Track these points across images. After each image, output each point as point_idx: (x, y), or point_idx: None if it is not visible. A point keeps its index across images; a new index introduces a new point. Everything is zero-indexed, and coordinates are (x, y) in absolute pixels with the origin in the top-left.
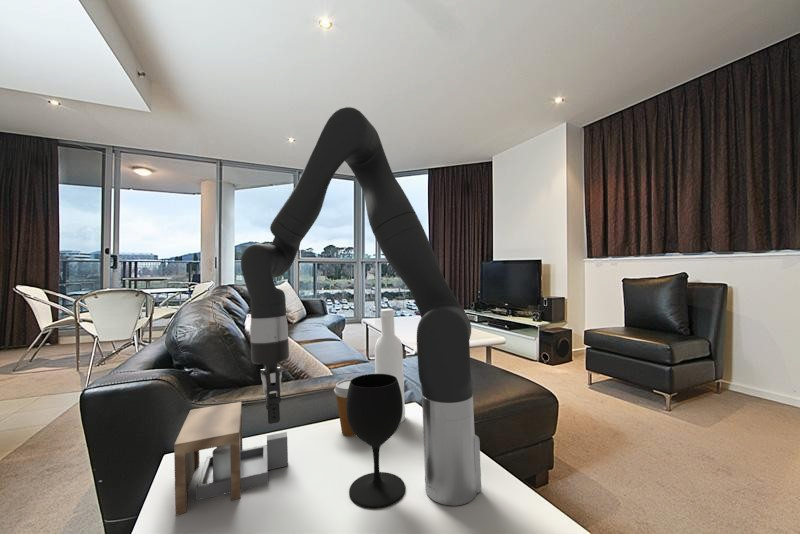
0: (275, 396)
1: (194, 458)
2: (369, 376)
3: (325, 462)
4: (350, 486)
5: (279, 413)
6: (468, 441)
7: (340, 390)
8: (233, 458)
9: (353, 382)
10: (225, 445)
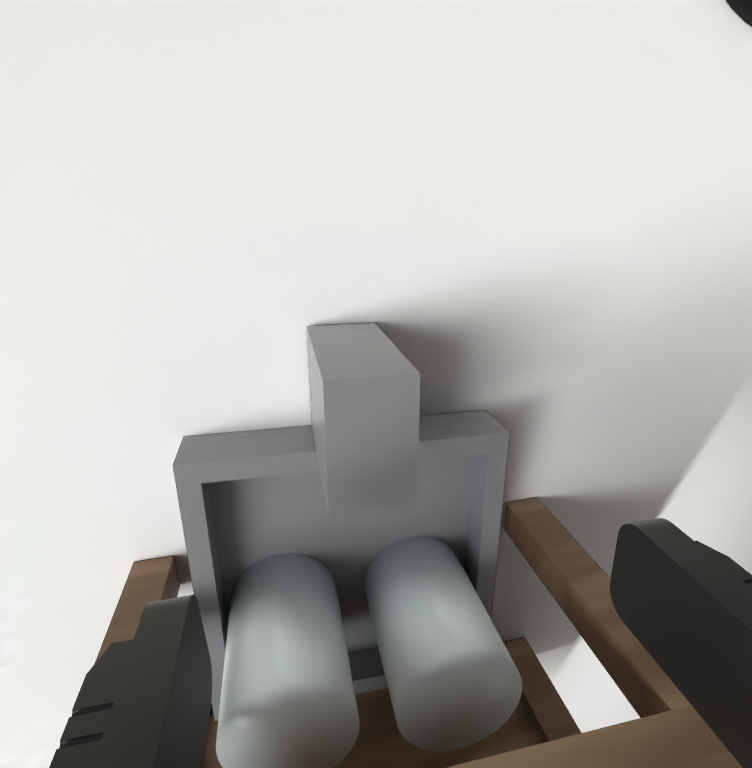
0: (165, 758)
1: (207, 759)
2: None
3: (422, 92)
4: (748, 8)
5: (724, 570)
6: None
7: None
8: None
9: None
10: (410, 717)
